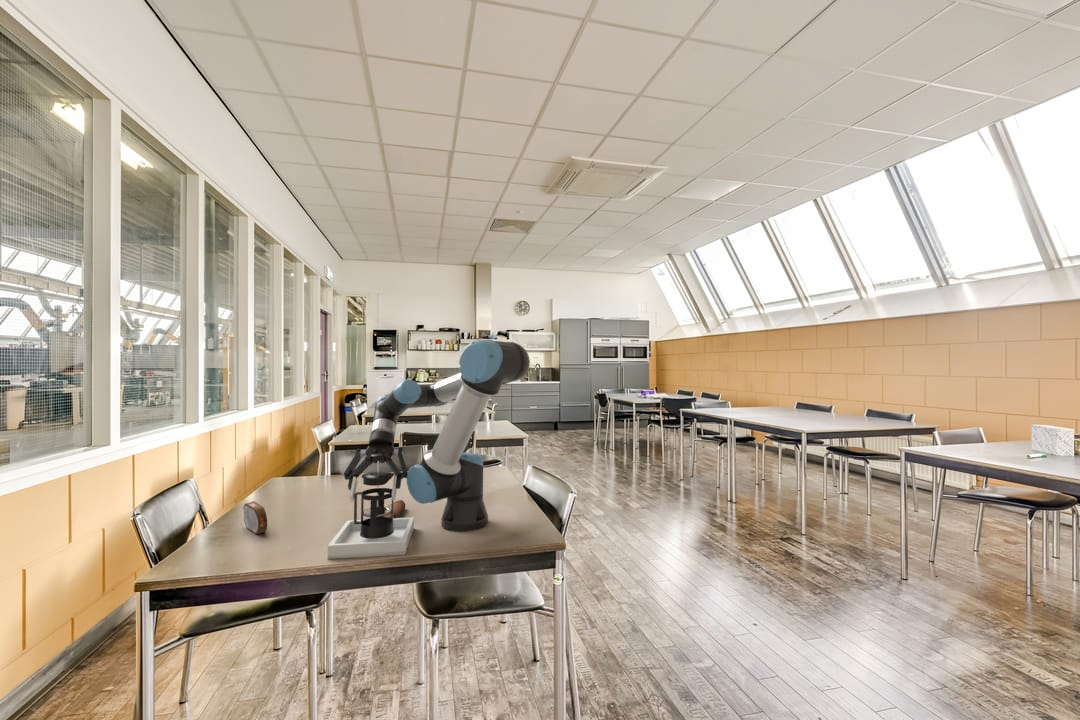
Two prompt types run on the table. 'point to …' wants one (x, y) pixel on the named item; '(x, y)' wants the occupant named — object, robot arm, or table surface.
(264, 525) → the tin
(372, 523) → the french press
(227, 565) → the table surface
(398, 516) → the sunglasses case
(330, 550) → the tray
